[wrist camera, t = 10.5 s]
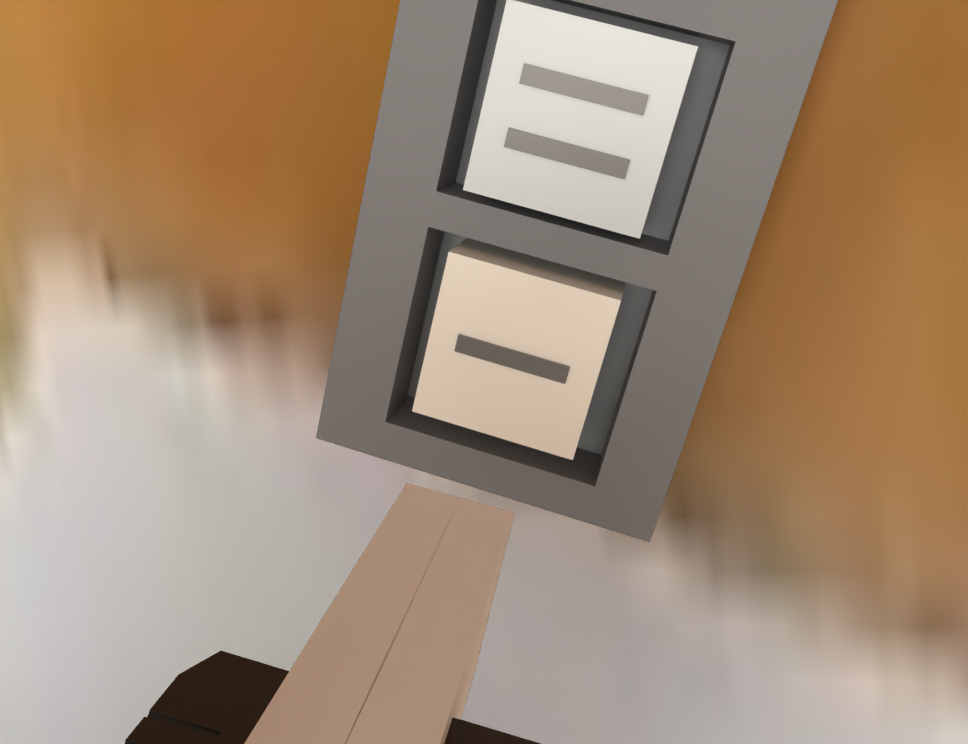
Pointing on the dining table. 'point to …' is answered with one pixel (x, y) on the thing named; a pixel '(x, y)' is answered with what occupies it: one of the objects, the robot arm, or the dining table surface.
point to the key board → (566, 247)
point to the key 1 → (516, 346)
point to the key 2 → (577, 117)
